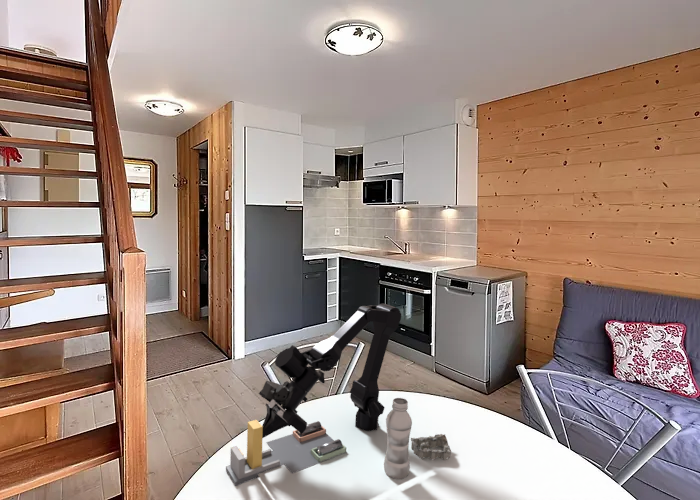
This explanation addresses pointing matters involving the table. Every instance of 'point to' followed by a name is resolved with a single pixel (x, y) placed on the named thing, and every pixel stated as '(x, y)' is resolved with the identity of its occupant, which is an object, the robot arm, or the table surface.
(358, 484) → the table surface
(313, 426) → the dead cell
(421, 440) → the egg carton
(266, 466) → the checker
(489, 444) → the table surface
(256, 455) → the tall mustard pillar
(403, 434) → the plastic bottle
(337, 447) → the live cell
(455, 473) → the table surface
